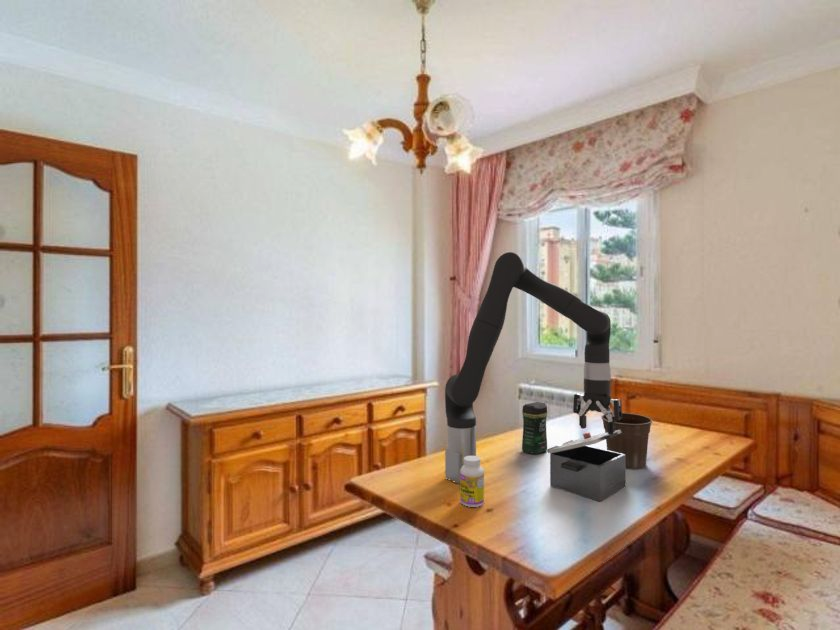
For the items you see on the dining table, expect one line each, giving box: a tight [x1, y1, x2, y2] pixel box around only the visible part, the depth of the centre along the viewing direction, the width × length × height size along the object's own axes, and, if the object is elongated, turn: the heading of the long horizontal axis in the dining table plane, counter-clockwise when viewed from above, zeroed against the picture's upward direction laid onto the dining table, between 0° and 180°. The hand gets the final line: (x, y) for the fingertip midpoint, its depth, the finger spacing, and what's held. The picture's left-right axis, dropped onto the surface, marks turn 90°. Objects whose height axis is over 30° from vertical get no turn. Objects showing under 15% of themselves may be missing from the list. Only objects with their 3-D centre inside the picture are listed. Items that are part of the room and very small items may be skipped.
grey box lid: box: [546, 430, 621, 454], centre depth 142 cm, size 16×19×2 cm
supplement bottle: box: [459, 455, 485, 508], centre depth 130 cm, size 7×7×13 cm
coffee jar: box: [521, 401, 548, 455], centre depth 176 cm, size 10×8×19 cm
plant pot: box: [600, 412, 653, 470], centre depth 161 cm, size 16×16×16 cm
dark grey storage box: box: [549, 445, 627, 503], centre depth 141 cm, size 22×16×10 cm
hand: (596, 430), depth 139 cm, fingers open, 8 cm apart
